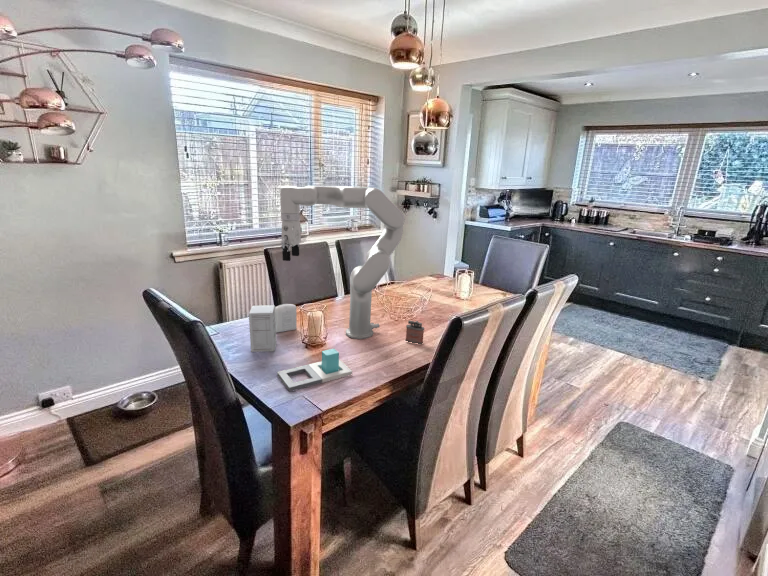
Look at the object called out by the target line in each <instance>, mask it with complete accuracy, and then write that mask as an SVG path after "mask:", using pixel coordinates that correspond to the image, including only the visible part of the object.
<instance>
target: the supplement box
mask: <svg viewBox="0 0 768 576" xmlns="http://www.w3.org/2000/svg"><path fill="white" fill-rule="evenodd" d="M275 307H276V306H275V304H274V305H273V304H272V305H271V304H270V305H269V304H267V305H264V304H262V305H252V306H251V308H250V309H249V313H248V321H249V322H248V323H249V341H250V353H262V352H264V353H265V352H275V351H276V347H277V332H276V322H275Z"/></svg>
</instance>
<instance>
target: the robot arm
mask: <svg viewBox="0 0 768 576" xmlns="http://www.w3.org/2000/svg"><path fill="white" fill-rule="evenodd" d="M279 192H280V193H279V194H280V196H279V197H280V200H279V201H280V221H281V241H280V245H281V252H282V261H285V262H290V261H291V256H292V257H299V256H300V243H301V242H302V237H301V236H302V235H301V232H302V231H301V223H300V221H301V219H300V217H301V214H300V211H301V210H300V206H306V207H312V206H314V205H331V206H336V207H338V208H342V209H343V208H344V209H345V208H346V209H352V208H353V209H368V210H369V211H370V212H371V213H372V214H373V215H374V217H376V218H377V219H378V220H379V221H380V222H381V223H382V224H383V230H382V232H381V234H380V236H379V237H378V239H377V240H376V241H375V243H374V244H373V245H372V246H371V248H370V249H369V250H368V251H367V253H366V255H365V262H364V264H363V265H357V266H356V267H354V268H353V269H352V271H351V273H350V277H349V278H350V279H349V284H350V288H349V290H350V292H349V297H350V298H349V319H348V320H349V325H348V326H349V327H348V328H346V330H345V335H346V336H347V337H348V338H350V339H356V340H364V339H369V338H372V336H373V335H374V329H378V328H380V324H379V323H374V322H371V316H372V314H371V313H372V297H373V296H372V295H373V294H372V290H374V288H376V286H377V285H378V283H380V281H381V279H382V278H383V277H384V276H385V275H386V273H387V272H388V270H389V268H390V265H391V259H390V257H391V255H392V254H393V253H394V251H395V250H396V248H398V245H399V244H400V242H401V241H402V238H403V234H404V225H405V223H406V222H405V220H406V219H405V218H406V217H405V215H404V214H403V212H402V211H401V210H400V209H399V208H398V207H397V206H396V205H395V203H393V201H391V200H390V199H389V198H388V196H387V195H386V194H385V193H384V192H383V191H382V190H381V189H378V188H377V187H366V186H365V187H363V186H325V185H323V186H322V185H306V186H304V187H303V186H302V187H298V186H295V185H283V186H281V187H280V189H279ZM290 250H291V251H290Z"/></svg>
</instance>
